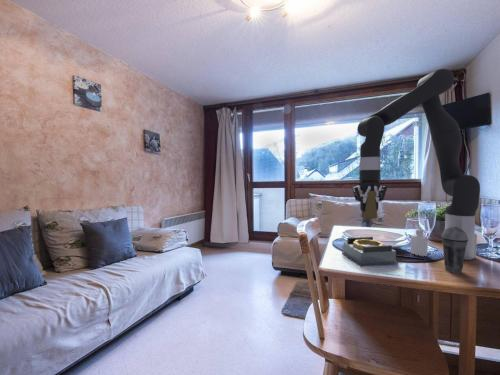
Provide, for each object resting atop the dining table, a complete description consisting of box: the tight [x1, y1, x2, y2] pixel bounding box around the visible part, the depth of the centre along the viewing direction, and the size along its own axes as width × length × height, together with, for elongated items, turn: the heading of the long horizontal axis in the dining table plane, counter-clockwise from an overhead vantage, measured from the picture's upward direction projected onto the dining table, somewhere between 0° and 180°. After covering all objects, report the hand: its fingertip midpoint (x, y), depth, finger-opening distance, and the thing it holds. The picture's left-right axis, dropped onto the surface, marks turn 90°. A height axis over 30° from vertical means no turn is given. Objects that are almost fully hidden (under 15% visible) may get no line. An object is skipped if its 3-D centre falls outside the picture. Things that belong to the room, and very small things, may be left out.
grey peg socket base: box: [341, 236, 399, 267], centre depth 101 cm, size 15×15×7 cm
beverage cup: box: [440, 215, 468, 275], centre depth 86 cm, size 7×7×20 cm
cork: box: [360, 190, 378, 220], centre depth 99 cm, size 6×6×11 cm
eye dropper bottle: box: [410, 226, 429, 257], centre depth 103 cm, size 4×6×12 cm
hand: (369, 211), depth 99 cm, fingers closed on cork, 4 cm apart
